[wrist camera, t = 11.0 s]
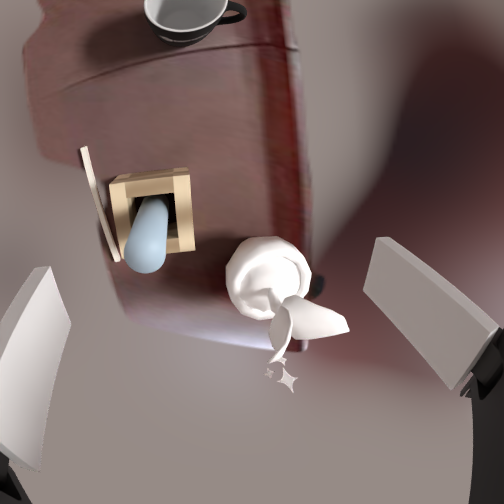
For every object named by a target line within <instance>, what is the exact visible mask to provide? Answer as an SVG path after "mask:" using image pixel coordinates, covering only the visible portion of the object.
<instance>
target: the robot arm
mask: <svg viewBox="0 0 504 504" xmlns="http://www.w3.org/2000/svg"><path fill="white" fill-rule="evenodd" d="M363 291H364V292H365V293H366V294H367V295H368V296H369V297H370V299H372V301H373V302H374V303H375V304H376V305H377V306H378V307H379V308H380V309H381V310H382V311H383V313H384V314H385V315H386V316H387V317H388V318H389V319H390V320H391V321H392V322H393V323H394V325H395V326H396V327H397V328H398V329H399V330H400V331H401V332H402V333H403V335H404V336H405V337H406V338H407V339H408V340H409V341H410V342H411V344H412V345H413V346H414V347H415V348H416V349H417V350H418V352H419V353H420V354H421V355H422V356H423V358H424V359H425V360H426V361H427V362H428V363H429V365H430V366H431V367H432V368H433V369H434V371H435V372H436V373H437V374H438V375H439V377H440V378H441V379H442V380H443V381H444V383H445V384H446V385H447V386H448V387H449V389H450V390H453V389H454V388H455V387H457V386H458V385H460V384H461V383H462V382H463V381H464V380H465V378H466V377H467V376H468V374H469V373H470V372H472V373H473V374H474V375H473V376H472V377H471V379H470V380H469V381H468V383H467V384H466V385H465V386H464V388H463V389H462V391H461V393H460V396H463V395H464V394H465V392H466V391H467V390H468V389H470V390H469V391H468V392H467V394H466V396H465V397H468V398H472V414H473V466H472V480H471V490H470V497H469V504H504V329H503V330H502V329H501V328H500V327H499V325H497V323H495V322H494V320H492V319H491V318H490V317H489V316H488V315H487V314H486V313H485V312H483V311H482V310H481V309H480V308H479V307H478V306H477V305H476V304H474V303H473V302H472V301H471V300H470V299H469V298H467V297H466V296H465V295H464V294H463V293H462V292H460V291H459V290H458V289H457V288H456V287H454V286H453V285H452V284H451V283H450V282H448V281H447V280H446V279H444V278H443V277H442V276H441V275H439V274H438V273H437V272H436V271H434V270H433V269H432V268H431V267H429V266H428V265H427V264H425V263H424V262H423V261H421V260H420V259H419V258H417V257H416V256H415V255H413V254H412V253H411V252H409V251H408V250H407V249H405V248H404V247H402V246H401V245H400V244H398V243H397V242H395V241H394V240H393V239H391V238H390V237H380V238H376V241H375V246H374V250H373V254H372V258H371V262H370V266H369V270H368V274H367V277H366V281H365V285H364V288H363ZM70 327H71V322H70V319H69V317H68V314H67V312H66V309H65V307H64V304H63V302H62V299H61V296H60V294H59V291H58V288H57V285H56V282H55V279H54V276H53V273H52V270H51V267H50V266H47V267H36V268H34V269H33V271H32V272H31V274H30V275H29V277H28V278H27V280H26V281H25V283H24V284H23V286H22V287H21V289H20V290H19V292H18V294H17V295H16V297H15V298H14V300H13V301H12V303H11V305H10V307H9V308H8V310H7V312H6V313H5V315H4V317H3V319H2V320H1V323H0V504H32V503H31V501H30V500H29V498H28V496H27V494H26V493H25V491H24V489H23V488H22V486H21V484H20V482H19V480H18V478H17V476H16V474H15V472H14V471H13V470H12V468H11V467H10V466H9V464H8V463H9V459H10V460H11V461H13V462H14V463H16V464H17V465H18V466H20V467H21V468H25V469H29V470H32V471H36V472H40V464H41V454H42V446H43V438H44V432H45V425H46V420H47V414H48V409H49V404H50V399H51V394H52V390H53V386H54V382H55V378H56V374H57V370H58V366H59V363H60V359H61V356H62V352H63V349H64V345H65V342H66V339H67V336H68V333H69V330H70Z"/></svg>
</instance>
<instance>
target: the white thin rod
mask: <svg viewBox="0 0 504 504" xmlns="http://www.w3.org/2000/svg"><path fill="white" fill-rule="evenodd" d="M80 149H81V153H82V158H83V162H84V166H85V170H86V174H87V177H88V181H89V184H90V188H91V192H92V195H93V199H94V202H95V205H96V209H97V212H98V215H99V218H100V221H101V224H102V227H103V230H104V233H105V236H106V239H107V242H108V244H109V247H110V250H111V252H112V255H113V258H114V260H115V262H117V261H120V259H121V258H120V256H119V253H118V250H117V248H116V245H115V242H114V239H113V236H112V233H111V230H110V227H109V224H108V221H107V218H106V215H105V212H104V209H103V205H102V202H101V199H100V195H99V192H98V188H97V184H96V181H95V177H94V173H93V169H92V165H91V161H90V157H89V153H88V148H87V146H86V147H83V148H80Z"/></svg>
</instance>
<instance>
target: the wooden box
mask: <svg viewBox="0 0 504 504" xmlns="http://www.w3.org/2000/svg"><path fill="white" fill-rule="evenodd" d="M109 188H110V195H111V202H112V209H113V215H114V221H115V226H116V232H117V237H118V242H119V247H120V252H121V256H122V259H124V247H125V244H126V242H127V239H128V236H129V234H130V231H131V228H132V226H133V223H134V221H135V218H136V216H137V211H136V204H135V197H140V196H148V195H156V194H165V193H174V196H175V207H176V218H177V222H173V223H168V225H167V239H166V254H167V253H176V252H185V251H194V250H195V242H194V230H193V218H192V205H191V190H190V174H189V170H188V167H184V168H173V169H164V170H155V171H147V172H139V173H131V174H124V175H118V176H117V177H116V178H115V179H114V180H113V181H112V182H111V183H110V184H109Z"/></svg>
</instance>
